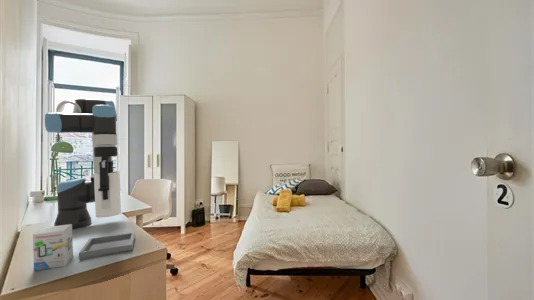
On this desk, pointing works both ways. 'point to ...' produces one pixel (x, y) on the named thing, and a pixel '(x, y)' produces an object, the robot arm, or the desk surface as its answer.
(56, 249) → the ink box
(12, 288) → the desk surface
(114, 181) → the cup
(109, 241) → the tray
